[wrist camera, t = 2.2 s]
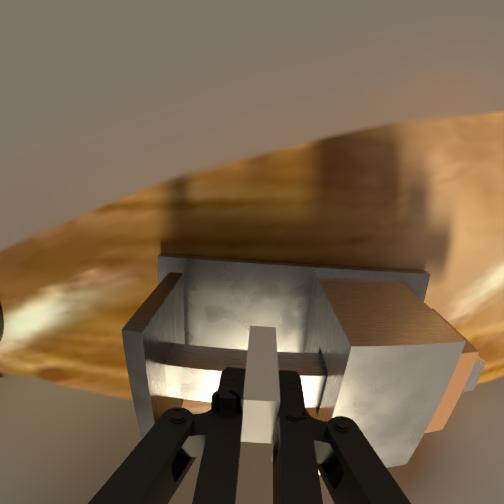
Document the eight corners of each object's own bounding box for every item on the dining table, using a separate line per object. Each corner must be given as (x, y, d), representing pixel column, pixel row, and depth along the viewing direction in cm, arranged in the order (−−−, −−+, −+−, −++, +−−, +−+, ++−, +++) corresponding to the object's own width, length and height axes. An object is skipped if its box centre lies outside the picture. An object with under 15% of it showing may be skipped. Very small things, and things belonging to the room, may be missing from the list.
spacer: (385, 380, 27) (414, 435, 19) (407, 308, 25) (450, 355, 17) (410, 378, 27) (442, 429, 19) (433, 308, 25) (479, 351, 17)
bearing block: (166, 368, 32) (128, 460, 19) (161, 253, 28) (93, 316, 15) (396, 377, 31) (441, 458, 19) (425, 271, 28) (506, 330, 15)
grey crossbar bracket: (175, 386, 28) (148, 462, 18) (169, 272, 25) (121, 329, 15) (429, 388, 28) (468, 448, 18) (463, 288, 25) (527, 334, 15)
